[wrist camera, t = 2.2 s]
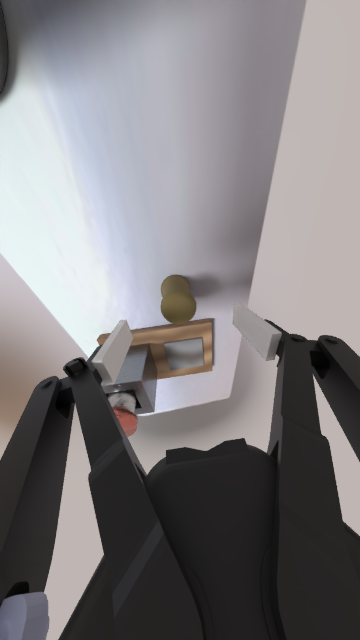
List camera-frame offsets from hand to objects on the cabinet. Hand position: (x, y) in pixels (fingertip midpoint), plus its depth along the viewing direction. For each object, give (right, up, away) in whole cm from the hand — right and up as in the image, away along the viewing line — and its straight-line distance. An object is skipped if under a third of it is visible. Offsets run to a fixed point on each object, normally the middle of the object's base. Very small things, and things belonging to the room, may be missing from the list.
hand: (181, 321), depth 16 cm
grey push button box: (-12, -10, +17) cm, 23 cm away
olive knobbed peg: (-1, +7, +11) cm, 13 cm away
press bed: (-5, -8, +19) cm, 21 cm away
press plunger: (-11, -13, +13) cm, 21 cm away
